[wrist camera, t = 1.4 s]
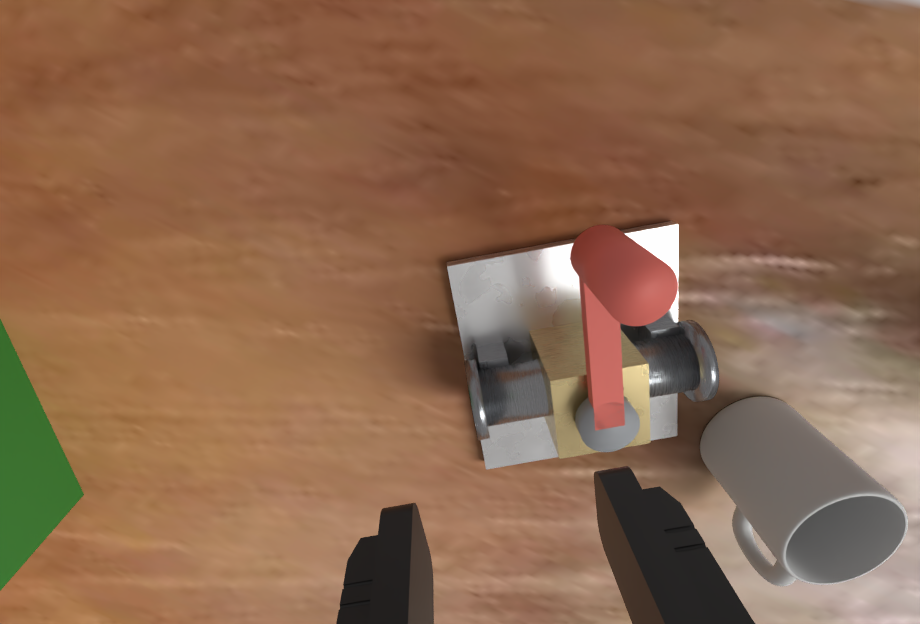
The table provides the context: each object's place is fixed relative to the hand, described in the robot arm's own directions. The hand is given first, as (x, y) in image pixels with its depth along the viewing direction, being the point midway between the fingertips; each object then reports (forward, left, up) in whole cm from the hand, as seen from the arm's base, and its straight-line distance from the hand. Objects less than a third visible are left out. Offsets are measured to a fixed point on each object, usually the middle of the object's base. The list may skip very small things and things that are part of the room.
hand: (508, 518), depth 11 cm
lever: (-7, +6, -17) cm, 19 cm away
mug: (-21, +24, -26) cm, 41 cm away
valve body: (-7, +11, -25) cm, 28 cm away
